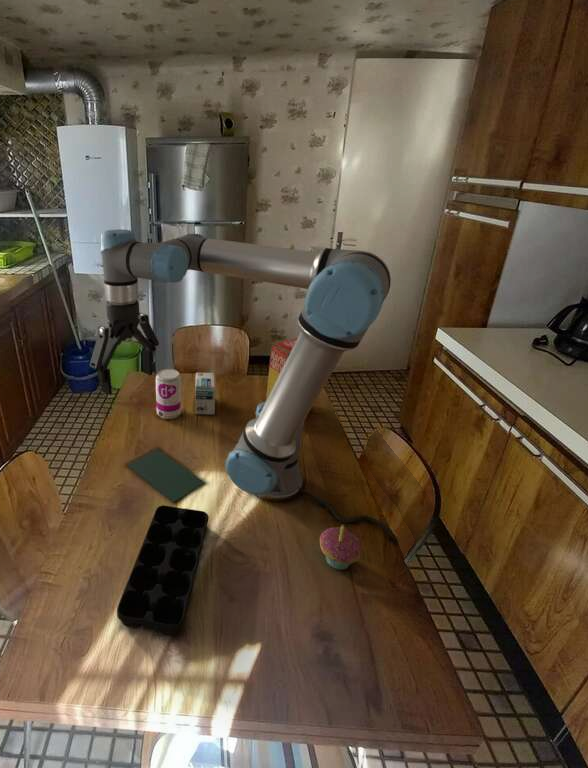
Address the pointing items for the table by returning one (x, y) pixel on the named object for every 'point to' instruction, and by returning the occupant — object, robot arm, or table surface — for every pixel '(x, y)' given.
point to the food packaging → (278, 361)
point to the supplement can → (168, 393)
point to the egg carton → (164, 571)
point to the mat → (165, 475)
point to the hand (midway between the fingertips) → (128, 382)
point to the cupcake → (340, 547)
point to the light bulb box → (205, 393)
